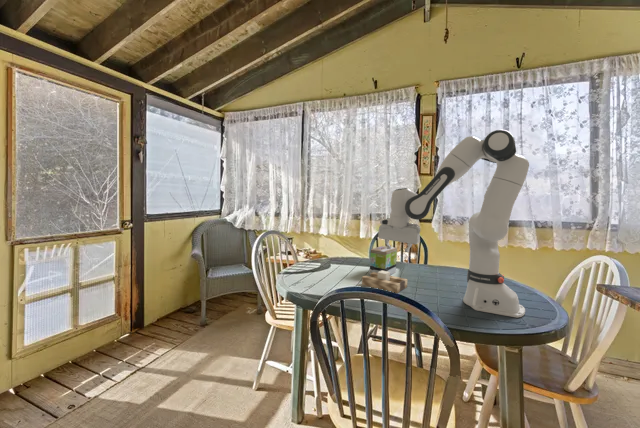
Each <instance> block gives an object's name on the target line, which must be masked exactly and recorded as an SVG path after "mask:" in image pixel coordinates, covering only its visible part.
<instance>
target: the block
mask: <svg viewBox="0 0 640 428" xmlns="http://www.w3.org/2000/svg"><path fill="white" fill-rule="evenodd" d="M390 276H391V275H390V272H388V271H383V270H382V271H379V272H378V276H377V278H378V279H383V280H387V281H390Z"/></svg>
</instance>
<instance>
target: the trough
mask: <svg viewBox="0 0 640 428" xmlns="http://www.w3.org/2000/svg"><path fill="white" fill-rule="evenodd" d="M377 276H378V273H376V272H372V273H371V274H370V276H369V275H364V276H361V285H362V286H365V285H366V286H365V287H369V288H370V287H371V288H373V287H374V289H377V288H379V290H381V289H384V290H383V291H386V290H388V291H387V292H390V291H392V292H391V293H394V292H395V294H398V293H400V292H402V291H403V290H405V289H406V288H407V287H408V279H407V278H403V277H399V276H396V275H395V276H394V275H390V281H387V280H383V279H378V278H377Z"/></svg>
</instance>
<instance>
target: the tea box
mask: <svg viewBox="0 0 640 428" xmlns="http://www.w3.org/2000/svg"><path fill="white" fill-rule="evenodd" d="M369 254H370V255H369V273H368V274H369V275H370V274H371V273H372V272H376V273H378V272H379V271H382V270H383V271H388V272H390V276H392V275H393V274H394V273H396V272H397V256H398V248H397V247H393V246H391V249H387V245H380V246H377V247H374V248H371V249H370V253H369ZM369 275H368V276H369Z"/></svg>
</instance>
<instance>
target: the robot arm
mask: <svg viewBox="0 0 640 428" xmlns="http://www.w3.org/2000/svg"><path fill="white" fill-rule="evenodd" d="M480 160H482V161H487V162H490V163H493V164H496V169H495V172H494V174H493V176H492V178H491V180H490V182H489V184H488V187H487V188H486V191H485V193H484V195H483V201H482V205H481V208H480V211H479V212H476V213H474V214H472V215H471V217H469V218H468V219H469V220H468V240H469V241H468V243H469V245H468V246H469V263H468V269H467V273H466V274H467V275H466V282H467V286H466V290H465V294H464V296H463V298H462V302H463V303H464V304H466V305H467V306H469V307H471V308H472V309H473V310H474V311H478V312H484V313H489V314H494V315H500V316H506V317H512V318H517V319H518V318H522V317H523V316H524V315H525V314H526V308H525V307H524V306H523V304H520V301H519V297H518V294H517V292H515V291H514V290H513V289H511V288H510V287H509V286H508V285H506V284H505V275H504V274H501V273H500V259H501V254H500V250H499V243H498V242H499V241H501V240H502V239H504V238H505V237H506V235H507V233H508V226H509V222H510V219H511V214H512V210H513V207H514V204H515V203H516V200H517V199H518V196H519V195H520V192H521V190H522V189H523V186H524V184H525V181H526V178H527V175H528V172H529V167H530V162H529V160H528V159H527V158H525V157H524V156H523V155H519V154H517V147H516V140H515V137H514V136H513V134H512V133H511V132H510V131H508V130H505V129H496V130H493V131H491V132H489V133H488V134H487V135H486V137H485V138H484V139H480V138H478V137H476V136H473V135H472V136H470V135H469V136H466V137H465V138H464V139H462V140H461V141H460V142H459V143H457V144H456V145H455V146H454V148H452V150H450V152H449V153H448V154H447V155H446V157H445V158H444V160H443V161H442V163H441V164H440V166H439V168H438V169H437V171H436V173H435V175H434V177H433V178H432V179H431V180H430V181H429V182H428V184H427V185H426V186H425V187H424V188H423V189H422V190H421V191H420V192H419V193H416V192H414V191H413V190H411V189H410V188H408V187H404V188H398V189H397V188H396V189H395V190H393V192H392V193H391V199H390V215H389V217H387V218H385V219H380V223H379V224H380V225H379V228H378V233H377V236H378V238H379V239H380V240H384V243H385V246H387V249H391V247H392V245H391V244H390V241H391V242H399V243H405V244H406V245H407V247H406V248H404V253H410V248H411V247H412V246H413V245H418V244H419V243H420V242H421V238H420V237H421V235H420V233H421V227H420V225H419V224H417V223H410V219H412V220H422V219H424V218H426V216H427V215H428V213H430V211H431V208H432V204H433V202H435V201H434V200H436V198H437V197H438V196H439V195H440V194H441V193H443V191H444V189H446V188H447V187H448V186H449V185H451V184H453V183H454V182H456V181H458V180H459V179H461V178H462V177H463V176H464V175H466V174H467V173H468V172H469V171H470V169H471V168H472V167H473V166H474V165H475V164H476V163H477V162H478V161H480Z"/></svg>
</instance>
